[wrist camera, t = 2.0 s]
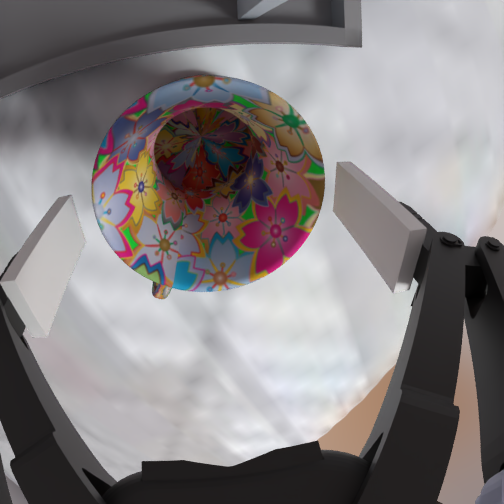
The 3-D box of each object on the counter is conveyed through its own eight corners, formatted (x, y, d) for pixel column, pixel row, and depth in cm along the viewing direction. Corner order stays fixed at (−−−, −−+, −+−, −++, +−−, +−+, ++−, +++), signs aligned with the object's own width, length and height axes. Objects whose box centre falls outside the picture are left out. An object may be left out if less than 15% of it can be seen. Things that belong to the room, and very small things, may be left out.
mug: (164, 49, 17) (139, 39, 8) (291, 102, 20) (366, 143, 12) (107, 205, 22) (67, 304, 14) (219, 241, 26) (238, 345, 17)
